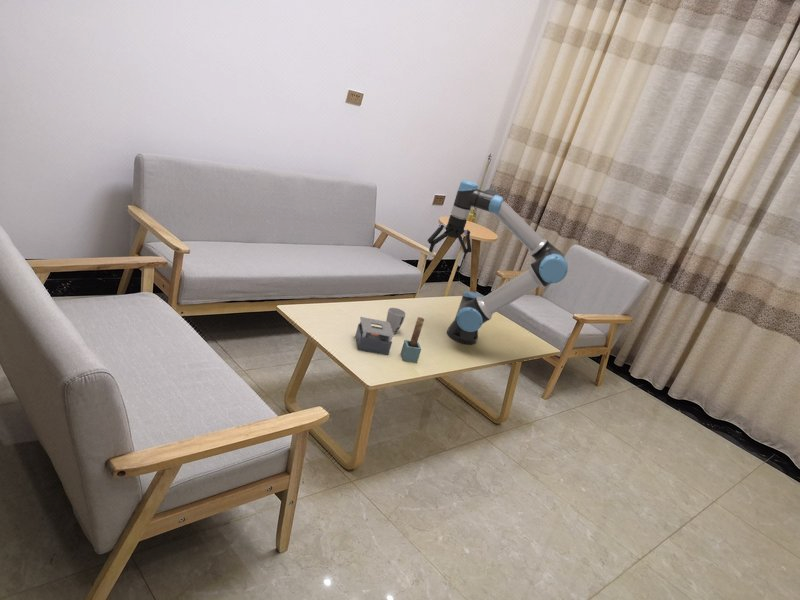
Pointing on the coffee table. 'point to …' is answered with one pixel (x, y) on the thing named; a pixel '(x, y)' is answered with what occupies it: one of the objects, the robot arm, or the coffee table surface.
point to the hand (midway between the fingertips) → (444, 262)
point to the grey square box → (374, 336)
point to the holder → (410, 352)
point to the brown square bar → (416, 332)
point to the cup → (395, 318)
